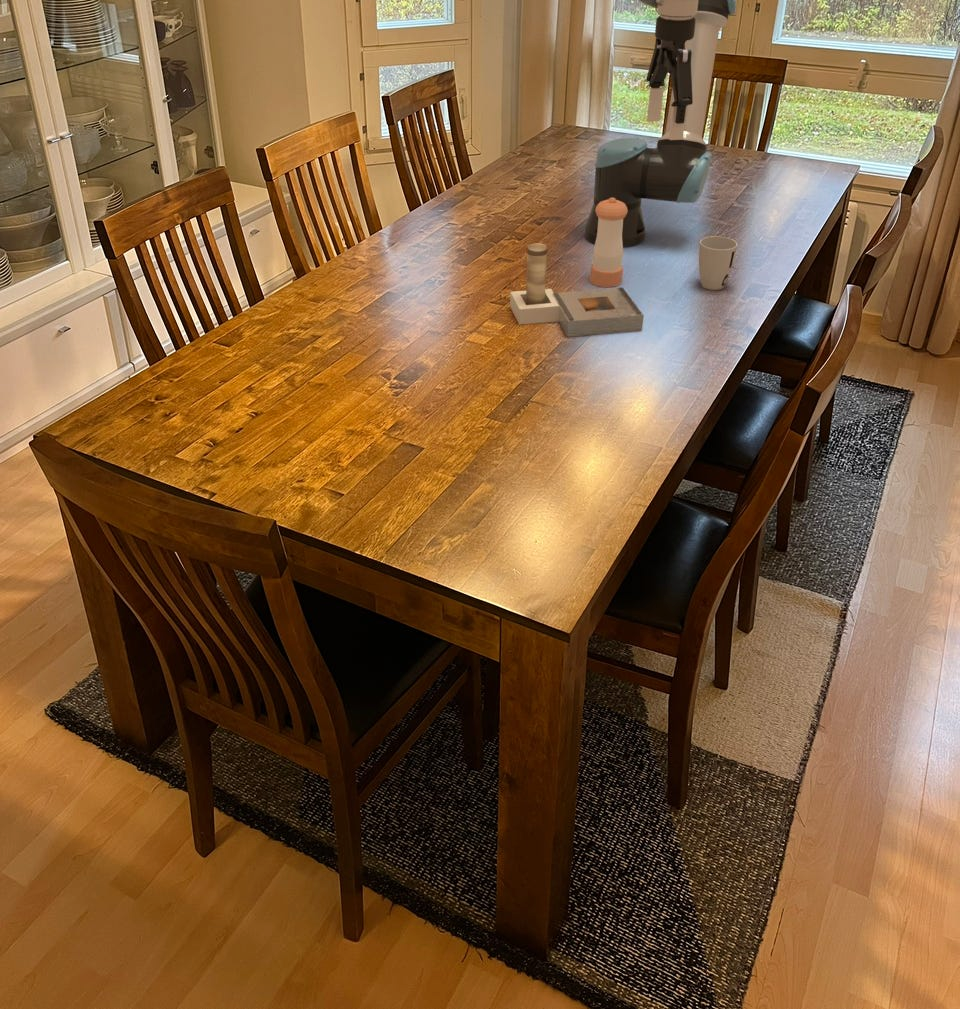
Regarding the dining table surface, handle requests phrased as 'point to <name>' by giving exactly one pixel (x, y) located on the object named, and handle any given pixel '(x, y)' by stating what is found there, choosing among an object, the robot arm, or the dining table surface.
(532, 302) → the brown wooden cylinder
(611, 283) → the salt shaker
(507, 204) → the dining table surface
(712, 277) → the cup
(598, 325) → the grey square frame
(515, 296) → the holder
